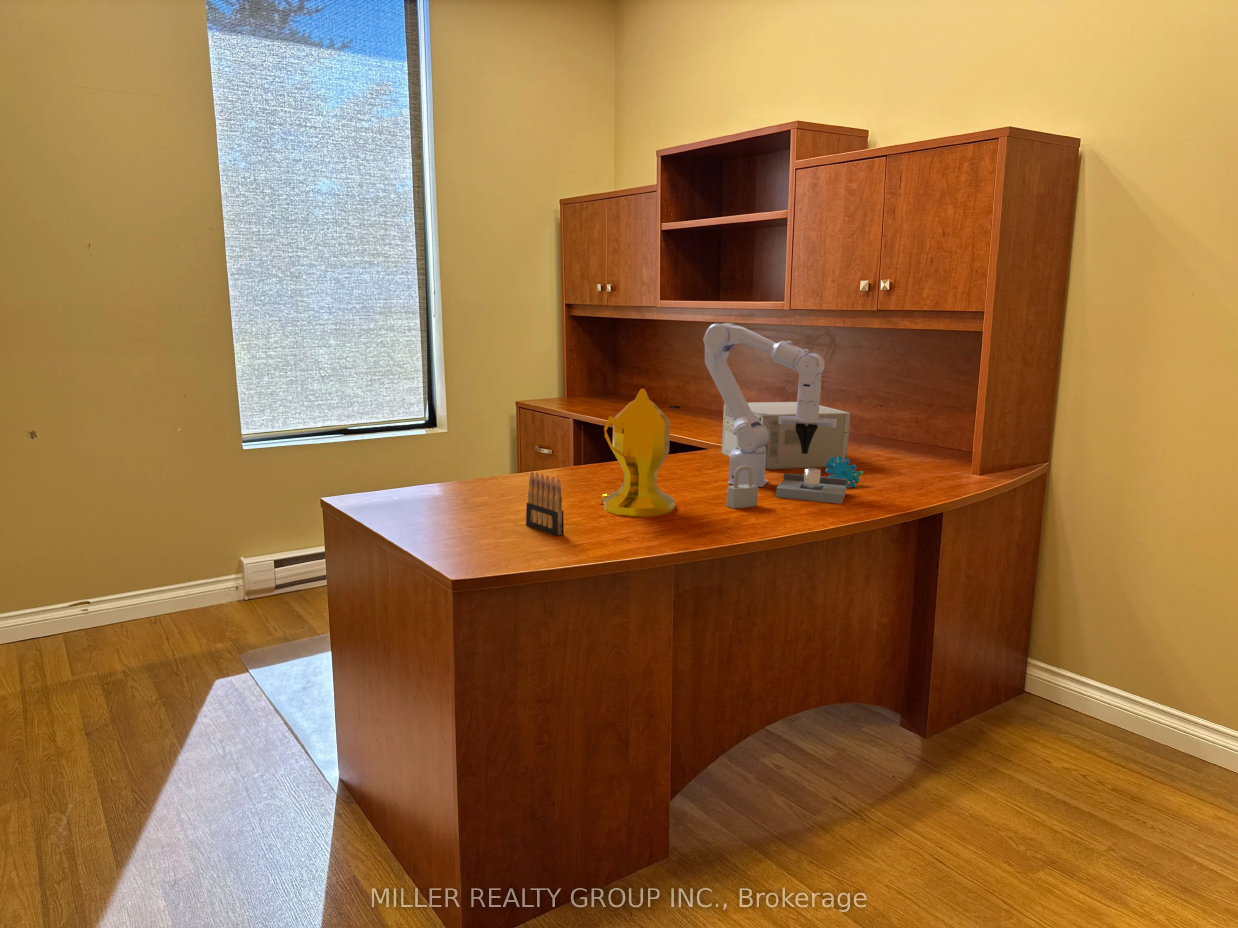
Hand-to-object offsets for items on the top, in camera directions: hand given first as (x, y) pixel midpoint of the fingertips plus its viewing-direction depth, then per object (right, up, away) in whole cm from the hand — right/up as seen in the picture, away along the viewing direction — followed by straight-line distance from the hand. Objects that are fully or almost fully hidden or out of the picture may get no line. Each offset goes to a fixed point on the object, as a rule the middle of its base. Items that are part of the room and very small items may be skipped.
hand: (804, 453), depth 221 cm
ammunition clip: (-64, -17, -41) cm, 78 cm away
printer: (+2, -2, +44) cm, 44 cm away
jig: (+1, -11, -4) cm, 11 cm away
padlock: (-19, -13, -17) cm, 28 cm away
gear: (+12, -9, +9) cm, 18 cm away
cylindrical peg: (0, -11, -5) cm, 12 cm away
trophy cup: (-44, -13, -20) cm, 51 cm away
